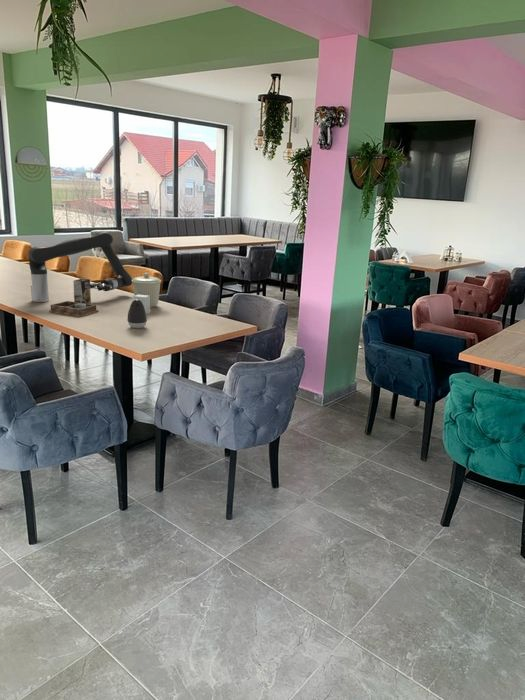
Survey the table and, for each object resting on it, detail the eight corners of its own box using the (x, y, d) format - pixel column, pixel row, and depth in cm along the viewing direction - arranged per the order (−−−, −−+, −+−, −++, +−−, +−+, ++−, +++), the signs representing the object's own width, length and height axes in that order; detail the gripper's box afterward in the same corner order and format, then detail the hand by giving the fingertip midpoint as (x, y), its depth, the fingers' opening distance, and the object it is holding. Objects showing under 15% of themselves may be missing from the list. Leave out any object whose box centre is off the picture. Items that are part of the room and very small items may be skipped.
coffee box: (84, 308, 322) (82, 281, 317) (74, 307, 323) (72, 280, 318) (91, 305, 331) (90, 279, 326) (82, 304, 332) (80, 278, 327)
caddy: (49, 311, 308) (48, 303, 307) (68, 306, 322) (68, 298, 321) (79, 316, 300) (79, 308, 299) (98, 311, 315) (97, 303, 313)
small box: (150, 313, 318) (150, 295, 315) (145, 314, 313) (145, 297, 310) (138, 311, 320) (138, 294, 317) (133, 313, 315) (133, 295, 312)
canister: (141, 310, 322) (140, 275, 316) (126, 305, 335) (125, 271, 329) (167, 307, 334) (167, 274, 328) (152, 302, 347) (151, 269, 340)
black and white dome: (129, 330, 278) (128, 301, 274) (126, 325, 287) (125, 297, 283) (149, 329, 282) (148, 301, 278) (145, 324, 291) (144, 297, 287)
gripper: (100, 277, 349) (83, 281, 334) (118, 280, 344) (101, 283, 329) (100, 289, 351) (83, 292, 336) (118, 291, 346) (102, 295, 331)
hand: (92, 288), depth 333 cm, fingers open, 8 cm apart
